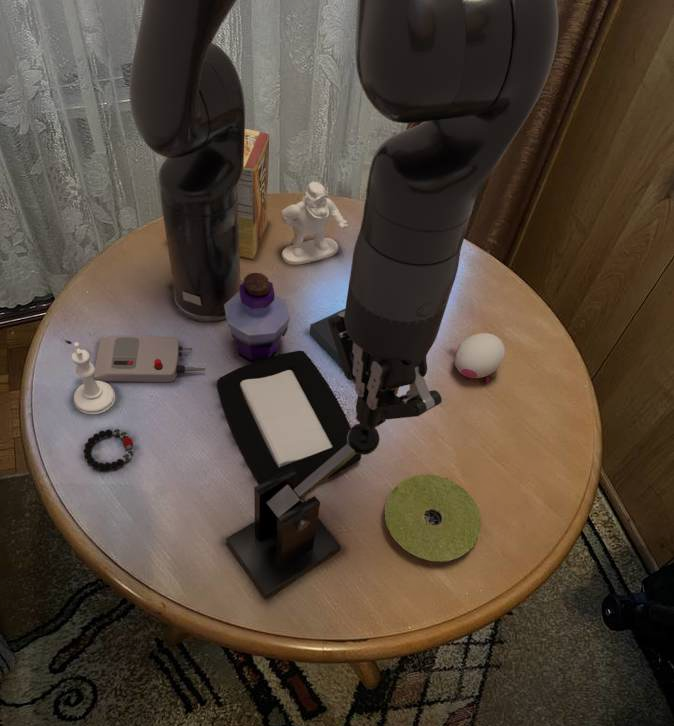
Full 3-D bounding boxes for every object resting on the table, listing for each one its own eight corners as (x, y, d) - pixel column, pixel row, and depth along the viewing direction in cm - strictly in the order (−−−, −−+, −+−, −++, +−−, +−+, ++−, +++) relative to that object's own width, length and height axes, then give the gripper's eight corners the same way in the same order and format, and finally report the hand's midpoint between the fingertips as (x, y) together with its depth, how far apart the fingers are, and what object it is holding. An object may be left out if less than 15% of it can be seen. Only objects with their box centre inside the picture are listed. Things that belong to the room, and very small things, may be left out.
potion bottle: (300, 356, 89) (306, 290, 79) (246, 381, 85) (244, 315, 76) (267, 316, 92) (268, 248, 82) (213, 339, 89) (207, 270, 79)
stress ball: (473, 364, 96) (464, 322, 92) (519, 370, 90) (511, 326, 86) (440, 388, 92) (429, 345, 89) (485, 396, 86) (476, 351, 83)
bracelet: (140, 462, 77) (139, 457, 76) (91, 478, 75) (89, 474, 74) (126, 426, 80) (124, 421, 79) (79, 441, 78) (77, 436, 77)
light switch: (206, 371, 83) (306, 337, 86) (209, 385, 86) (306, 351, 89) (262, 497, 74) (372, 454, 77) (264, 508, 76) (370, 466, 80)
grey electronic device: (87, 343, 86) (82, 327, 84) (207, 344, 88) (205, 329, 86) (79, 381, 83) (74, 366, 80) (205, 382, 85) (203, 367, 82)
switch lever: (368, 423, 67) (362, 411, 64) (388, 444, 66) (382, 434, 63) (272, 504, 67) (261, 497, 64) (290, 528, 65) (279, 521, 63)
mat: (362, 512, 76) (364, 504, 75) (432, 467, 81) (435, 458, 79) (426, 586, 72) (429, 580, 70) (496, 534, 77) (501, 526, 75)
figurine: (293, 275, 98) (297, 206, 88) (275, 248, 101) (277, 178, 91) (347, 261, 101) (356, 192, 91) (328, 234, 104) (335, 166, 94)
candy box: (242, 219, 104) (240, 126, 91) (268, 224, 103) (270, 132, 91) (228, 255, 99) (224, 162, 86) (255, 260, 99) (255, 168, 86)
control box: (309, 333, 91) (311, 315, 88) (359, 309, 95) (362, 291, 92) (361, 389, 87) (365, 372, 84) (412, 362, 90) (417, 345, 87)
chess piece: (80, 419, 80) (59, 365, 71) (69, 390, 82) (48, 335, 74) (120, 407, 81) (104, 353, 73) (108, 378, 83) (92, 323, 75)
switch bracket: (299, 499, 77) (305, 443, 67) (340, 550, 73) (352, 499, 64) (226, 543, 73) (220, 490, 63) (266, 599, 69) (267, 553, 60)
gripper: (498, 318, 47) (443, 450, 61) (383, 216, 52) (357, 360, 66) (421, 360, 44) (382, 489, 58) (307, 248, 49) (296, 392, 63)
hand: (368, 420), depth 62 cm, fingers closed
